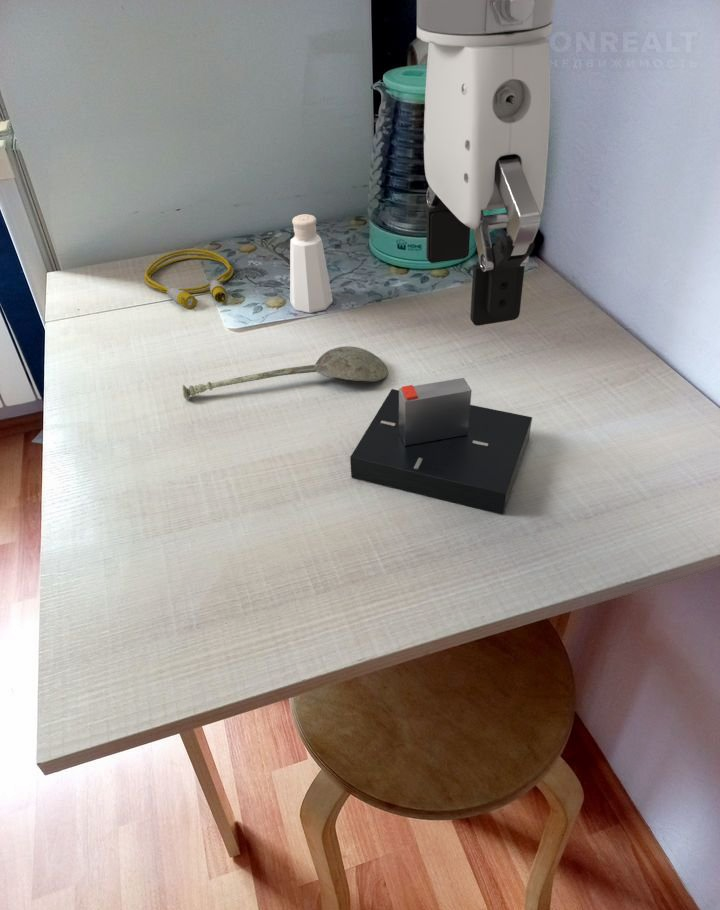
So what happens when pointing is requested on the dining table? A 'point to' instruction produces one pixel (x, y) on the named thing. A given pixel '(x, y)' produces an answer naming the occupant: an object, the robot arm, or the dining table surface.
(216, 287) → the extension cord
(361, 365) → the soupspoon
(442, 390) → the tap handle
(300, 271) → the pepper shaker
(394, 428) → the plate
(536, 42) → the robot arm
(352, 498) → the dining table surface
